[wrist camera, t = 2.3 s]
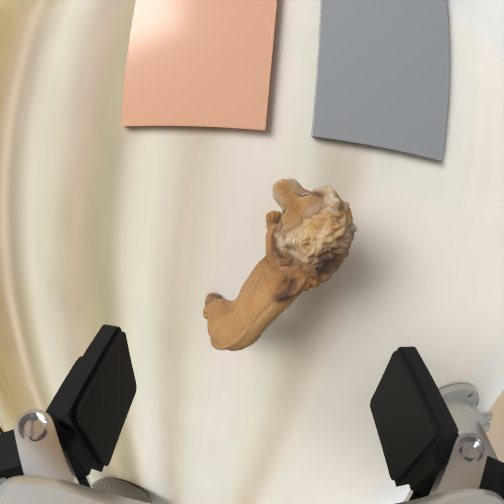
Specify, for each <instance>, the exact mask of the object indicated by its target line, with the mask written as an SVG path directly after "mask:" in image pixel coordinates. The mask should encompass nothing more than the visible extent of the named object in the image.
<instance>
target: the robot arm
mask: <svg viewBox="0 0 504 504" xmlns="http://www.w3.org/2000/svg"><path fill="white" fill-rule="evenodd" d="M135 393H136V381H135V377H134V372H133V368H132V363H131V358H130V354H129V349H128V344H127V338H126V334H125V332H122V331H121V328H120V327H117V326H111V325H103V326H102V327H101V329H100V330H99V332H98V333H97V335H96V336H95V338H94V339H93V341H92V342H91V344H90V346H89V347H88V349H87V350H86V352H85V353H84V355H83V356H81V357H79V358H78V360H77V361H76V362H75V364H74V366H73V367H72V369H71V370H70V372H69V374H68V375H67V377H66V378H65V380H64V382H63V383H62V385H61V387H60V388H59V390H58V392H57V393H56V395H55V397H54V398H53V400H52V402H51V403H50V405H49V407H48V409H47V410H46V412H44V411H42V410H39V409H30V410H27V411H25V412H23V413H22V414H20V415H19V416H18V418H17V419H16V421H15V424H14V430H10V431H7V432H4V433H1V434H0V504H151V503H147V502H142V501H138V500H134V499H130V498H126V497H122V496H118V495H114V494H111V493H107V492H104V491H101V490H97V489H94V488H93V486H92V484H91V482H90V479H89V477H88V475H89V474H90V471H91V469H94V470H97V471H100V472H102V470H103V467H104V465H105V466H108V465H109V463H110V460H111V458H112V455H113V452H114V449H115V446H116V444H117V441H118V438H119V435H120V433H121V430H122V427H123V425H124V422H125V419H126V417H127V414H128V411H129V409H130V406H131V403H132V401H133V398H134V396H135ZM478 401H479V396H478V393H477V391H476V389H475V388H474V387H473V386H472V385H469V384H454V385H450V386H447V387H444V388H442V389H439V390H438V388H437V386H436V384H435V382H434V380H433V378H432V376H431V375H430V373H429V371H428V369H427V367H426V365H425V364H424V362H423V360H422V358H421V356H420V355H419V353H418V351H417V349H416V348H415V347H399V348H398V349H397V351H395V352H393V354H392V356H391V359H390V361H389V363H388V365H387V368H386V370H385V372H384V374H383V376H382V378H381V381H380V383H379V385H378V387H377V389H376V391H375V393H374V395H373V397H372V399H371V402H370V408H371V412H372V415H373V418H374V421H375V425H376V428H377V431H378V435H379V438H380V442H381V445H382V449H383V452H384V456H385V459H386V463H387V467H388V470H389V474H390V477H391V479H392V480H395V484H396V487H397V486H402V485H406V484H409V485H410V489H411V490H410V491H409V493H408V495H407V497H406V499H405V501H404V502H401V503H397V504H504V463H503V462H500V461H499V460H498V458H497V456H496V454H495V452H494V450H493V448H492V445H491V443H490V442H489V440H488V438H487V436H486V433H485V432H487V431H488V430H489V428H490V423H489V421H490V420H491V419H492V416H493V415H492V412H490V411H489V412H485V413H483V414H480V412H479V410H478V408H477V405H478Z"/></svg>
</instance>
